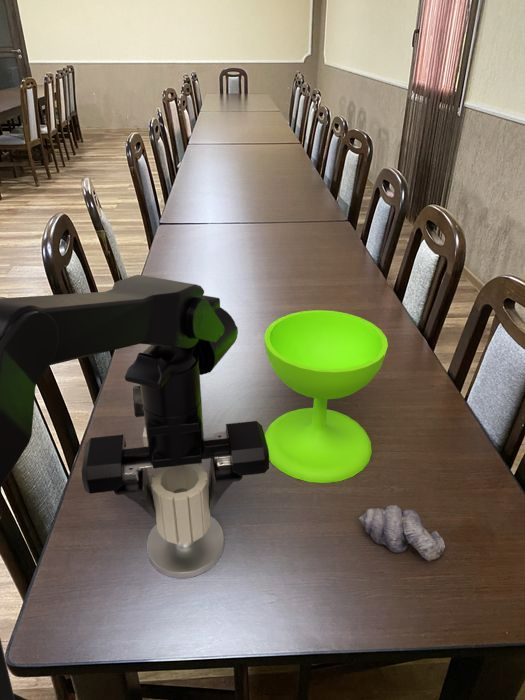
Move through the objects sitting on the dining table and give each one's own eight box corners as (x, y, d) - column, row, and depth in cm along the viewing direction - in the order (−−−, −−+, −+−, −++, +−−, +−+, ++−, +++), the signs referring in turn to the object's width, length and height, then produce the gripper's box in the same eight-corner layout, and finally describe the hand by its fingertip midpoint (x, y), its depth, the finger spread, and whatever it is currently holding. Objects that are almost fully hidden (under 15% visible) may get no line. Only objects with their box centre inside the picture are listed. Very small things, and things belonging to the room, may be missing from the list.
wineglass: (325, 398, 89) (334, 300, 79) (395, 455, 77) (414, 348, 68) (242, 432, 81) (241, 328, 72) (305, 500, 70) (314, 387, 61)
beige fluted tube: (157, 547, 59) (151, 502, 55) (157, 506, 64) (151, 462, 60) (212, 540, 60) (209, 495, 56) (207, 500, 65) (205, 456, 61)
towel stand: (147, 584, 59) (138, 529, 55) (147, 520, 67) (140, 468, 62) (228, 572, 61) (226, 518, 56) (220, 511, 68) (217, 459, 64)
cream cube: (160, 438, 80) (158, 425, 79) (159, 447, 78) (157, 434, 77) (145, 438, 80) (143, 425, 79) (144, 448, 78) (142, 435, 77)
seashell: (441, 560, 64) (357, 537, 67) (448, 515, 64) (365, 494, 67) (442, 571, 59) (352, 546, 62) (450, 522, 59) (360, 499, 62)
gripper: (253, 349, 61) (253, 453, 69) (82, 363, 58) (103, 470, 66) (271, 409, 51) (269, 521, 60) (68, 429, 49) (95, 544, 57)
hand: (183, 510), depth 61 cm, fingers closed on beige fluted tube, 6 cm apart
